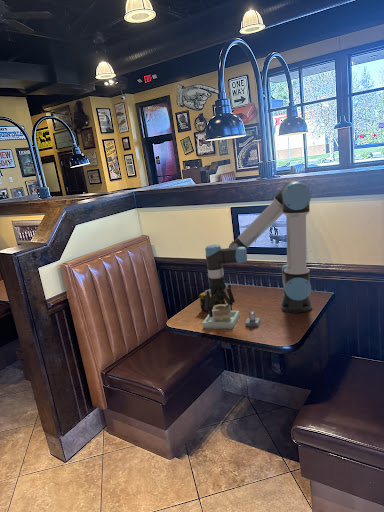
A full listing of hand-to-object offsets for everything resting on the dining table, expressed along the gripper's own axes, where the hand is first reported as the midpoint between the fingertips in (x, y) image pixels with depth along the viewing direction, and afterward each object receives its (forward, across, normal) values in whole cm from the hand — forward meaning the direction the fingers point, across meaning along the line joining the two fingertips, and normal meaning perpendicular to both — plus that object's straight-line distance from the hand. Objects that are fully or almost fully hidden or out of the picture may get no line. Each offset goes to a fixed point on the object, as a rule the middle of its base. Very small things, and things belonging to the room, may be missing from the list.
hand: (221, 319), depth 188 cm
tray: (+1, 0, 0) cm, 1 cm away
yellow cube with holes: (+2, -6, -18) cm, 19 cm away
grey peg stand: (+1, -10, +13) cm, 16 cm away
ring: (-1, 0, -1) cm, 2 cm away
